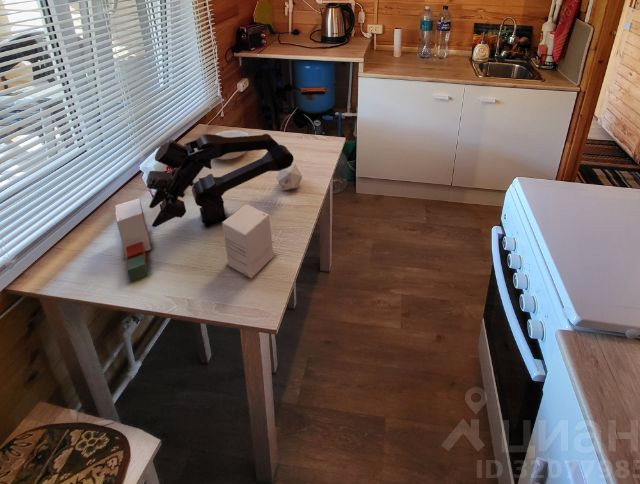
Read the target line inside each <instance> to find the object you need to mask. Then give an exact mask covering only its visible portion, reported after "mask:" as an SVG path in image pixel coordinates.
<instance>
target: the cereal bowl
mask: <svg viewBox="0 0 640 484" xmlns="http://www.w3.org/2000/svg"><path fill="white" fill-rule="evenodd" d="M214 135H219V136H222V137H242V136H250V135H249V133H248V132H247V131H246V132H245V131H243V130H237V129H231V130H224V131H220V132H217V133H215V134H214ZM246 152H247V151H244V152H233V153H228V154H225V155H223V156H222V157H219V158H217V159H219V160H232V159H236V158H238V157H241V156H243V155H244V154H245V153H246Z"/></svg>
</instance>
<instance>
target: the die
mask: <svg viewBox="0 0 640 484" xmlns="http://www.w3.org/2000/svg"><path fill="white" fill-rule="evenodd" d="M302 179H303V175H302V174H301V172H300V169H299V168H298V166H297V165H296V163H294V164H292V165H291V166H290V167H288V168H286V169H283V170H280V171H278V173H277V175H276V180H277V182H278V183H279V185H280V187H281V189H282V191H288V190H293V189H298V188H299V186H300V184H301V181H302Z"/></svg>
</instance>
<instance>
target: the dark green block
mask: <svg viewBox="0 0 640 484" xmlns="http://www.w3.org/2000/svg"><path fill="white" fill-rule="evenodd" d="M126 270H127V274H128V278H129V282H130V283H131V282H135V281H137V280H139V279H142V278H144V277H148V276H149V273H148V266H147V260H146V261H145V257H144V254H142V255H140V256H137V257H134V258H131V259H129V260H127V259H126Z"/></svg>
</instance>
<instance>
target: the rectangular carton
mask: <svg viewBox="0 0 640 484" xmlns="http://www.w3.org/2000/svg"><path fill="white" fill-rule="evenodd" d="M226 218H227V219H226V220H225V221H224V222H221V225H222V231H223V239H224V244H225V250H226V257H227V258H226V259H227V263H228V266H229V267H231V268H233V270H236V271H237V272H239V273H241V274H243V275H245V276H246V277H248V278H250V279H252V278H254V277H255V275H257V274H258V272H260V271H261V270H262V268H264V267H265V266H266V264H268V262H270V261H271V259H272V258H273V257H274V256H275V255H274V246H273V238H272V229H271V219H270V218H271V217H270V214H269V213H267V212H264V211H262V210H260V209H258V208H256V207H254V206H252V205H250V204H247V203H246V204H244V205H243V206H242V207H240V208H239V209H238V210H237V211H235V212H234V213H233V214H231V215H230V216H228V217H226Z"/></svg>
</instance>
